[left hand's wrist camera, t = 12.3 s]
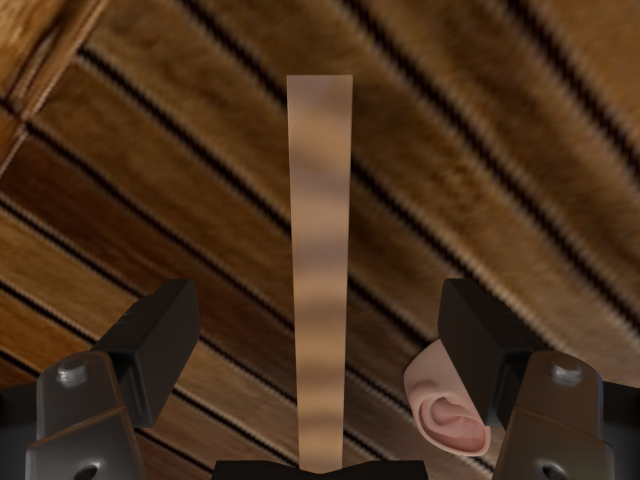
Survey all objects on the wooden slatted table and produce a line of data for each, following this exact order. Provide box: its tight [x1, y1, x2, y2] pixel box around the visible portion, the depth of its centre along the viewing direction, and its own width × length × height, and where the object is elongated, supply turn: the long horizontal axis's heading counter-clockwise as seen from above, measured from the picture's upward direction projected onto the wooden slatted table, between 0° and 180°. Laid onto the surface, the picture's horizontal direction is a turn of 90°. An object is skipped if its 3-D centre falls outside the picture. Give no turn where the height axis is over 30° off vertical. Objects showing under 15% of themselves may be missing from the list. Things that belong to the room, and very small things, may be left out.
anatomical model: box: [404, 339, 491, 456], centre depth 39 cm, size 13×4×12 cm
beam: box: [287, 75, 353, 474], centre depth 35 cm, size 51×4×6 cm, turn 0°
